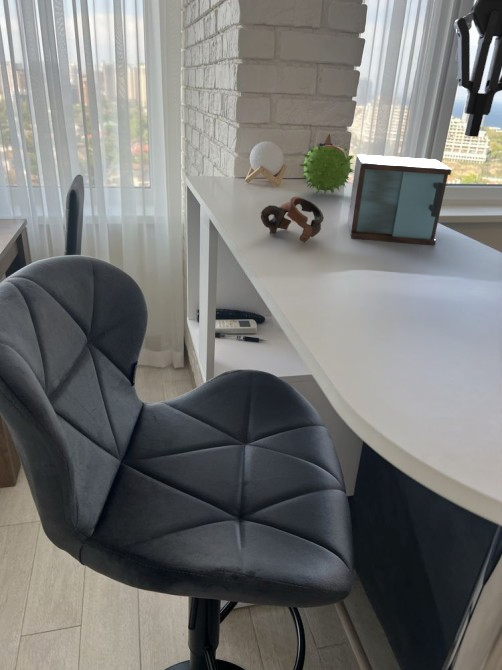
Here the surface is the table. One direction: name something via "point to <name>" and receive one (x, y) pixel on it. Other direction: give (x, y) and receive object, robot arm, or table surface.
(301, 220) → the two-tone looped frame
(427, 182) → the glass door
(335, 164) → the chestnut
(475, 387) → the table surface
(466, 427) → the table surface
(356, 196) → the display cabinet
